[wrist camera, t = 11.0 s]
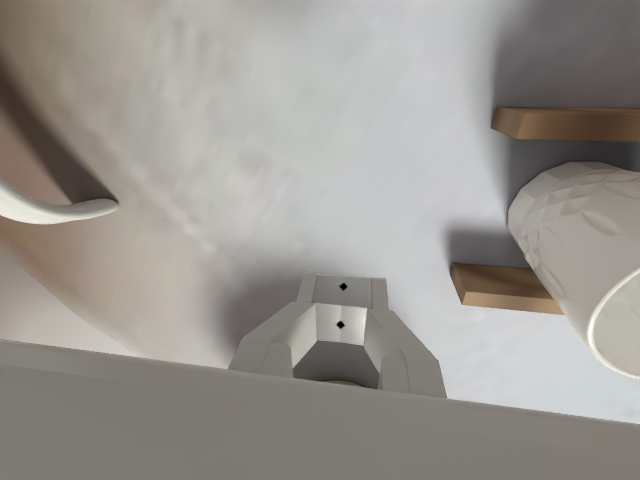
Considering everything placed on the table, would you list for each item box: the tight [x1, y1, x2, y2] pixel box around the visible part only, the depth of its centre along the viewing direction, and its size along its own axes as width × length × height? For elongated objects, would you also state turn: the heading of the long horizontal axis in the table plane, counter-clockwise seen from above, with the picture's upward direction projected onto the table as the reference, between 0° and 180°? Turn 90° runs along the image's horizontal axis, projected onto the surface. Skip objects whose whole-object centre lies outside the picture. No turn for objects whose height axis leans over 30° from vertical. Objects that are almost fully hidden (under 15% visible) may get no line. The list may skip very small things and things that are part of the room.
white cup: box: [507, 162, 640, 379], centre depth 15 cm, size 8×8×10 cm
